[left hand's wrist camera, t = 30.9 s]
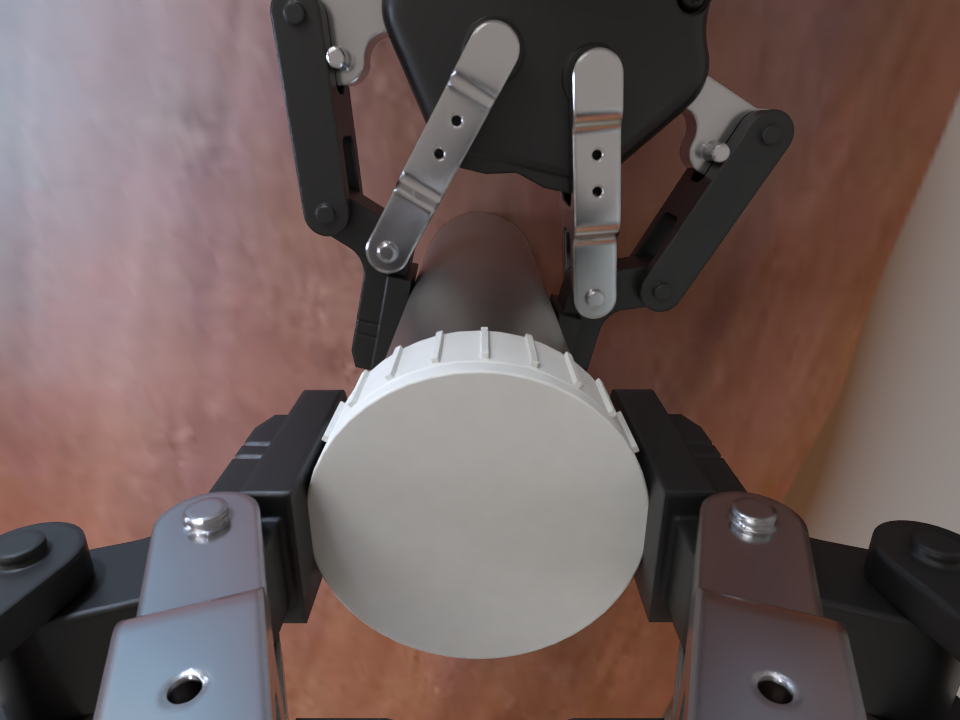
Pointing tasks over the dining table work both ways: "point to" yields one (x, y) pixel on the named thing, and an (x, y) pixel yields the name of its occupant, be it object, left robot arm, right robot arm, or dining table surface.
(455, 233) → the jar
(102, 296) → the dining table surface
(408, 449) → the lid
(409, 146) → the dining table surface
